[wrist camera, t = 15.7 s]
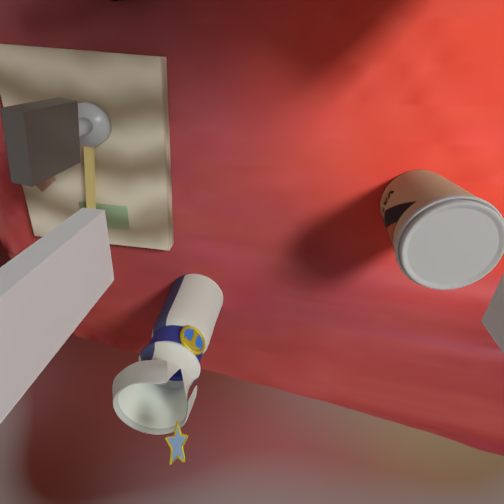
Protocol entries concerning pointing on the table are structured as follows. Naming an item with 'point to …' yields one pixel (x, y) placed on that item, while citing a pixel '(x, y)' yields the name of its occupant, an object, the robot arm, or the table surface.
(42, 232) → the dial board
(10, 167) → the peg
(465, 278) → the coffee cup
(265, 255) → the table surface
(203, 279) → the water bottle
